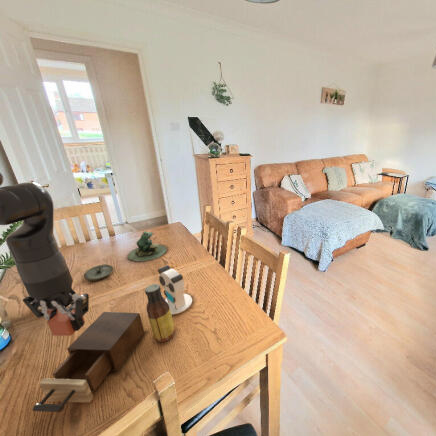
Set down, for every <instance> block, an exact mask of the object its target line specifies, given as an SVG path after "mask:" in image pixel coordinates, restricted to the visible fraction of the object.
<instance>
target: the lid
mask: <svg viewBox="0 0 436 436" xmlns="http://www.w3.org/2000/svg"><path fill="white" fill-rule="evenodd" d="M113 271H114V267H113V266H112V265H111V264H99V265H96V266H93V267H91V268H89V269H87V270H86V271H85V272H84V274H83V278H84V279H85V280H86V281H90V282H91V281H92V282H94V281H95V282H96V281H99V280H102V279H104V278H106V277H108V276H110V275H111V274H112V272H113Z"/></svg>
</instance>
